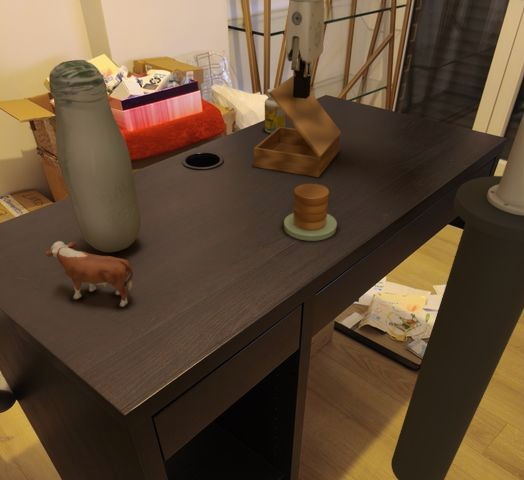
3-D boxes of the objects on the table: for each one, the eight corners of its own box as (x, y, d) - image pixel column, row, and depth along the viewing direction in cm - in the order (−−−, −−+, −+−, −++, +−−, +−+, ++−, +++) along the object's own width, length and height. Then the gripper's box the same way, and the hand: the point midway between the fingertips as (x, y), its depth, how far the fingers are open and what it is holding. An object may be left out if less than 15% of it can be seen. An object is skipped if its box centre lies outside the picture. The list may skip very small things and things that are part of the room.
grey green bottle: (117, 268, 78) (67, 75, 59) (73, 250, 82) (14, 64, 63) (157, 241, 84) (125, 58, 65) (115, 226, 88) (73, 50, 69)
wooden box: (254, 166, 107) (253, 148, 105) (278, 143, 118) (279, 126, 115) (318, 177, 103) (319, 158, 100) (338, 152, 113) (340, 134, 110)
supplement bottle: (289, 131, 124) (290, 90, 118) (273, 135, 122) (273, 94, 115) (276, 125, 127) (277, 85, 121) (260, 130, 125) (260, 89, 118)
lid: (268, 93, 96) (270, 91, 96) (294, 75, 106) (296, 73, 106) (318, 157, 100) (320, 155, 100) (339, 134, 110) (341, 132, 110)
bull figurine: (69, 279, 75) (53, 233, 70) (144, 295, 72) (134, 248, 67) (51, 295, 72) (33, 248, 67) (129, 312, 69) (117, 264, 64)
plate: (342, 220, 89) (343, 215, 88) (327, 245, 83) (327, 240, 82) (294, 211, 92) (294, 206, 91) (275, 234, 85) (276, 229, 85)
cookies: (330, 218, 88) (333, 186, 83) (320, 233, 84) (322, 201, 79) (299, 212, 89) (301, 181, 85) (288, 226, 85) (289, 194, 81)
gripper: (312, -5, 83) (306, 109, 95) (337, -15, 93) (328, 89, 105) (272, -7, 85) (271, 105, 97) (301, -17, 95) (296, 86, 107)
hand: (301, 96), depth 101 cm, fingers closed
